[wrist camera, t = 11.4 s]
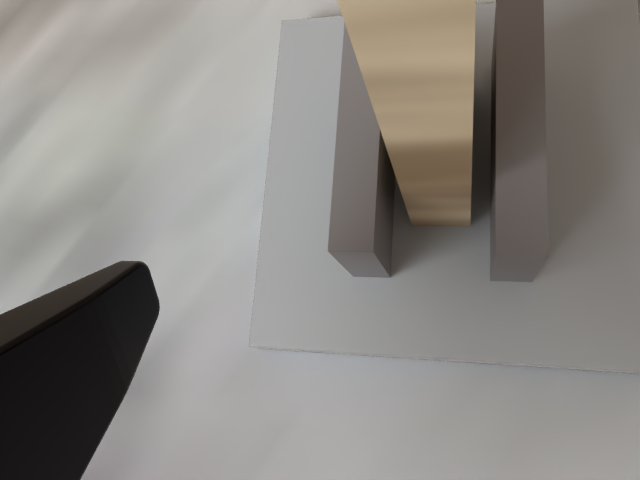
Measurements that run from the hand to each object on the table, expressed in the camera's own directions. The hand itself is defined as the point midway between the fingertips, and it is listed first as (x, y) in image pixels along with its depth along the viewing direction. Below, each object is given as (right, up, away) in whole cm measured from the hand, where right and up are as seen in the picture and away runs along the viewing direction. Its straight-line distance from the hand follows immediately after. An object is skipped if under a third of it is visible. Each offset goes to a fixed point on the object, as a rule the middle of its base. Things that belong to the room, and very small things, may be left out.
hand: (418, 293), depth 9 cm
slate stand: (+2, +2, +8) cm, 8 cm away
